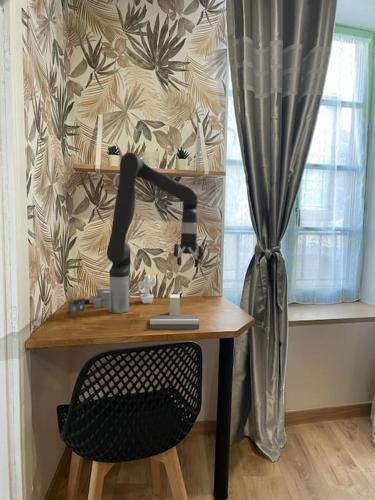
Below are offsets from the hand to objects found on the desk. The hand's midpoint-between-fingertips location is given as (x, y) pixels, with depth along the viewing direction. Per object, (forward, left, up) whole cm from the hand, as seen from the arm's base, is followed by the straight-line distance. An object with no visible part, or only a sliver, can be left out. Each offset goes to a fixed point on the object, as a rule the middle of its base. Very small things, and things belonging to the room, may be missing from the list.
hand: (187, 266), depth 148 cm
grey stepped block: (-45, +16, -23) cm, 53 cm away
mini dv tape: (-53, +1, -23) cm, 58 cm away
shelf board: (-6, -18, -23) cm, 29 cm away
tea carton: (-6, -4, -23) cm, 24 cm away
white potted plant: (-21, +20, -23) cm, 37 cm away
